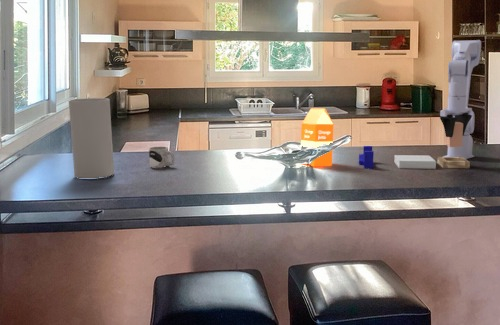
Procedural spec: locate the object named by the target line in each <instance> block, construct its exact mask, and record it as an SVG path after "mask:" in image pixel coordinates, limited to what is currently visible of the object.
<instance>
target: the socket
mask: <svg viewBox="0 0 500 325" xmlns="http://www.w3.org/2000/svg"><path fill="white" fill-rule="evenodd" d="M436 160H437V161H436V164H438V165H439V166H440V167H441V168H442V169H470V166H471V162H470V160H468V159H465V158H463V157H443V156H437V159H436Z"/></svg>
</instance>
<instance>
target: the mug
mask: <svg viewBox="0 0 500 325" xmlns="http://www.w3.org/2000/svg"><path fill="white" fill-rule="evenodd" d="M169 155H170V157H171V162H170V161H169ZM148 156H149V160H148V161H149V167H150V166H154V167H164V166H169V167H170V166H173V165H175V161H176V159H175V153H174V152H173V151H171V150H169V147H167V146H153V147H152V146H151V147H148Z"/></svg>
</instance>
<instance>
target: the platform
mask: <svg viewBox="0 0 500 325" xmlns="http://www.w3.org/2000/svg"><path fill="white" fill-rule="evenodd" d="M394 164H395V166H397V168H398V169H428V170H429V169H430V170H431V169H434V170H436V169H437V161H436V160H435V159H434V158H433V157H431V155H426V154H425V155H424V154H423V155H419V154H418V155H417V154H416V155H413V154H412V155H411V154H409V155H407V154H406V155H405V154H404V155H403V154H401V155H399V154H394Z"/></svg>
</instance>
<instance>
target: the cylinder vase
mask: <svg viewBox="0 0 500 325" xmlns="http://www.w3.org/2000/svg"><path fill="white" fill-rule="evenodd" d="M110 101H111V100H110V98H105V97H103V98H102V97H100V98H99V97H95V98H94V97H92V98H91V97H90V98H88V97H87V98H74V99H69V100H68V109H69V122H70V134H71V145H72V146H71V148H72V149H71V150H72V160H73V170H74V171H73V172H74V177H75V178H76V177H78V178H99V177H106V176H110V175H112V174H113V175H115V168H114V167H115V165H114V164H115V163H114V149H113V148H114V147H113V133H112V120H111V119H112V118H111V117H112V116H111V102H110ZM113 175H112V176H113ZM78 178H77V179H78Z"/></svg>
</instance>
